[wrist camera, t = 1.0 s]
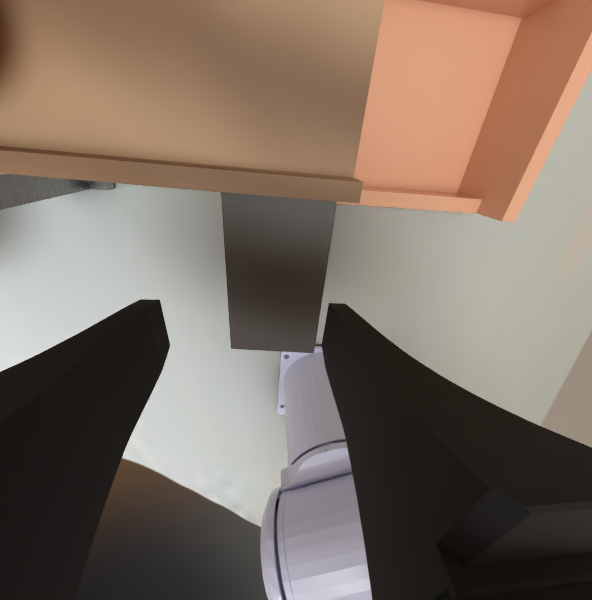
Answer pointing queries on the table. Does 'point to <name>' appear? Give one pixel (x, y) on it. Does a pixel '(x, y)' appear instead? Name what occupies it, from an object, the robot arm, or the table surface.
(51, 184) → the pivot stand
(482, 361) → the table surface
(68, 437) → the robot arm
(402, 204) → the tray
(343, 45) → the tipping chute
